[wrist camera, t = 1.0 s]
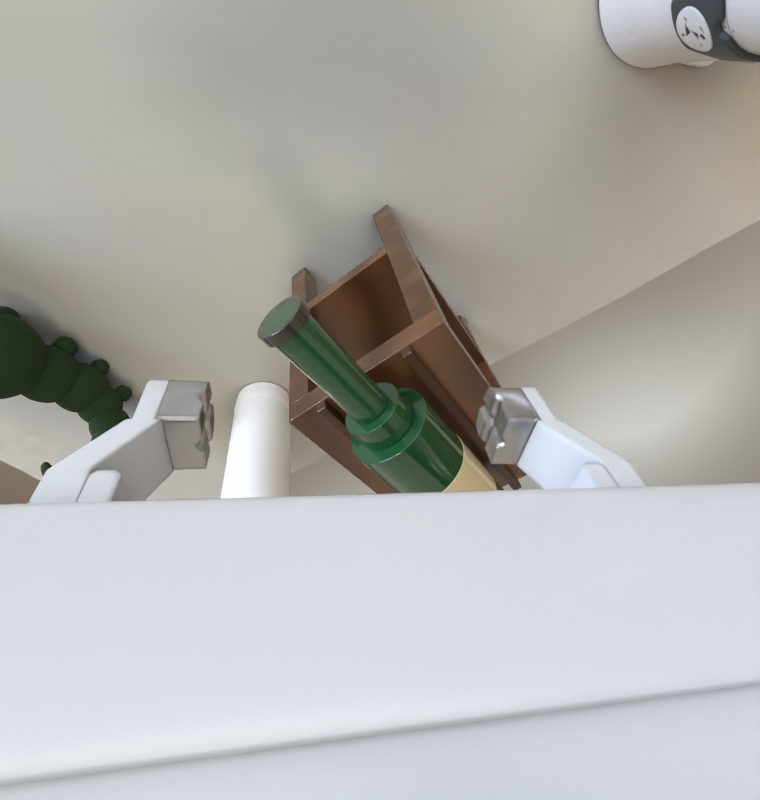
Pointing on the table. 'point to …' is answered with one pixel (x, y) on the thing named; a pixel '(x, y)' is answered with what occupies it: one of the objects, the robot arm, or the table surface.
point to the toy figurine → (57, 376)
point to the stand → (394, 351)
